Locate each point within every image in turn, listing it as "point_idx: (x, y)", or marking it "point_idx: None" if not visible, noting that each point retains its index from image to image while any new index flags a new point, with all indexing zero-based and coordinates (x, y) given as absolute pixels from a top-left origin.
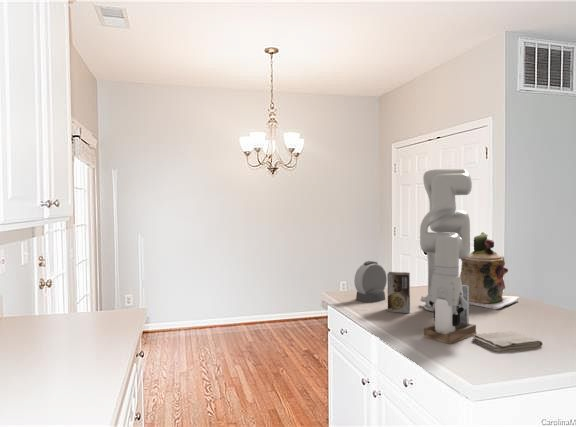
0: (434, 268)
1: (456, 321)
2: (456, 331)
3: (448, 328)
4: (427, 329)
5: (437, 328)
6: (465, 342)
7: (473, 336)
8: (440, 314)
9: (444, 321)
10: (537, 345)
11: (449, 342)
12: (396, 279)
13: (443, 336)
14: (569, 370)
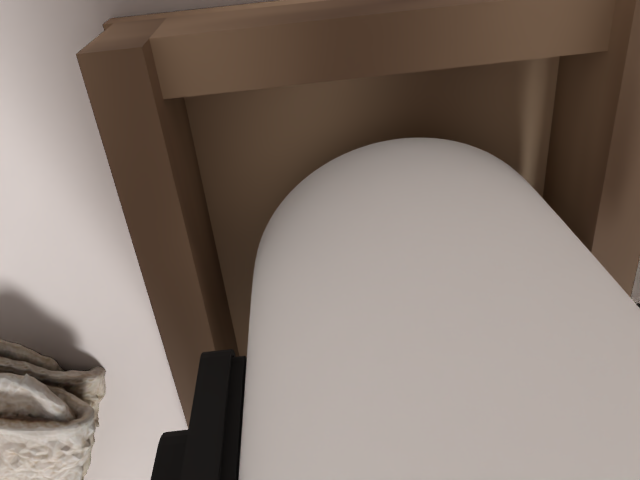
0: None
1: (178, 456)
2: (179, 303)
3: (276, 253)
4: (620, 19)
5: (469, 164)
6: (82, 256)
7: (45, 397)
8: (498, 372)
9: (345, 286)
10: None
11: (129, 18)
12: None
13: (237, 20)
14: None
